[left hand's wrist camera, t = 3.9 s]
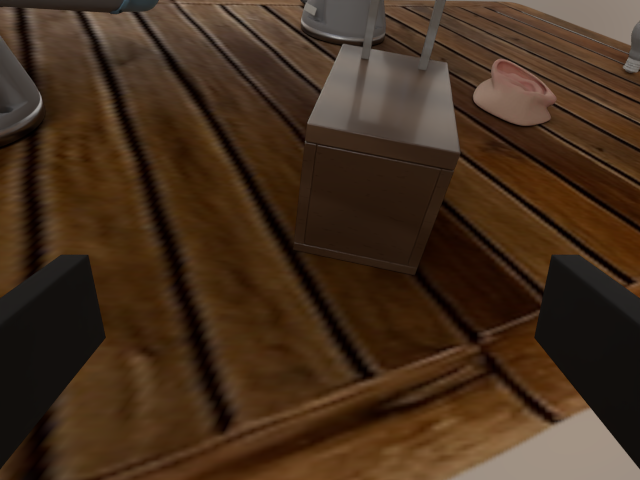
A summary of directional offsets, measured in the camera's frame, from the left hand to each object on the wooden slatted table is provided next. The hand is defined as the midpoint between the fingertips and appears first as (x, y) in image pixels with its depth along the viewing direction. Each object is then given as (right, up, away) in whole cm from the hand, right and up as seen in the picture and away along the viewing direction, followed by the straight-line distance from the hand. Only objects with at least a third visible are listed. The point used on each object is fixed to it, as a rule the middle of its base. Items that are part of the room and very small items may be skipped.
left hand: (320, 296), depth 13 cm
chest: (+4, +5, +28) cm, 28 cm away
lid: (+5, +12, +22) cm, 25 cm away
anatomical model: (+27, +21, +50) cm, 61 cm away
